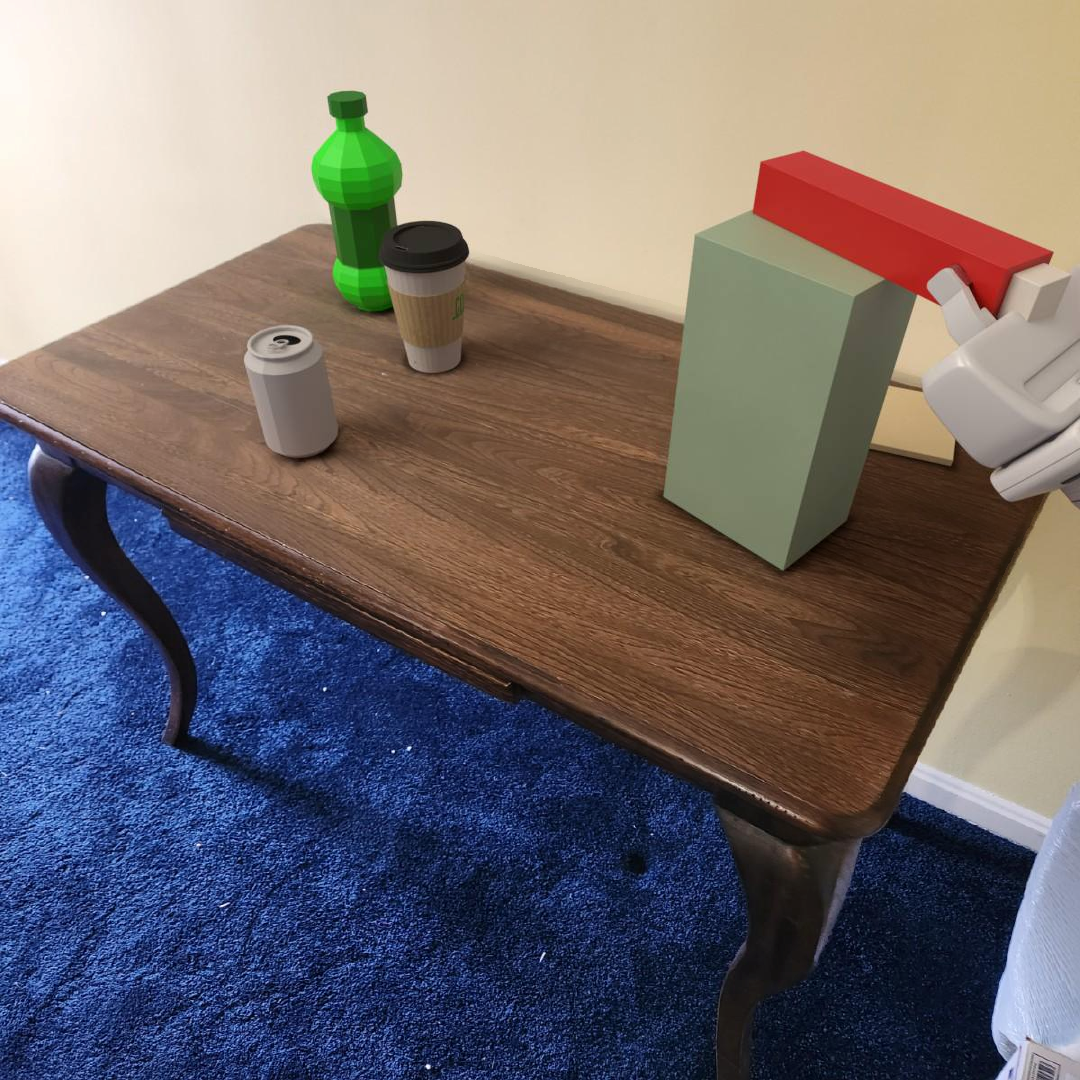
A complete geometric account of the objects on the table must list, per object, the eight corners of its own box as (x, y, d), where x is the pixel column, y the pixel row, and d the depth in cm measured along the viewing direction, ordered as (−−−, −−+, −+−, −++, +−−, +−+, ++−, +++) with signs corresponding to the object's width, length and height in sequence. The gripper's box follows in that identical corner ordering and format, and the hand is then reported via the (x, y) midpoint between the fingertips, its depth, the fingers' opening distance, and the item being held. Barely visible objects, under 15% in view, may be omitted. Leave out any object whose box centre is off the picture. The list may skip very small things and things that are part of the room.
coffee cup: (492, 352, 103) (486, 230, 93) (442, 390, 97) (430, 263, 87) (427, 331, 107) (415, 211, 97) (376, 366, 101) (357, 242, 91)
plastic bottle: (399, 278, 118) (375, 78, 101) (425, 311, 111) (404, 102, 94) (327, 293, 115) (291, 89, 98) (350, 327, 108) (314, 114, 91)
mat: (956, 405, 95) (959, 399, 94) (950, 466, 86) (953, 460, 86) (775, 369, 100) (776, 363, 100) (753, 423, 92) (754, 417, 92)
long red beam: (1057, 323, 55) (1084, 263, 52) (1012, 342, 53) (1036, 281, 51) (794, 201, 70) (803, 150, 68) (752, 212, 69) (760, 161, 66)
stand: (846, 520, 80) (930, 253, 63) (783, 571, 75) (855, 296, 58) (728, 454, 88) (773, 200, 71) (663, 496, 83) (694, 234, 66)
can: (352, 428, 92) (333, 326, 84) (317, 468, 87) (293, 364, 79) (291, 415, 94) (267, 314, 86) (252, 454, 88) (223, 351, 80)
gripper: (1211, 337, 57) (1072, 183, 59) (1081, 464, 47) (918, 273, 49) (1124, 389, 62) (999, 246, 64) (991, 513, 52) (847, 339, 54)
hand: (963, 258), depth 56 cm, fingers closed on long red beam, 5 cm apart
